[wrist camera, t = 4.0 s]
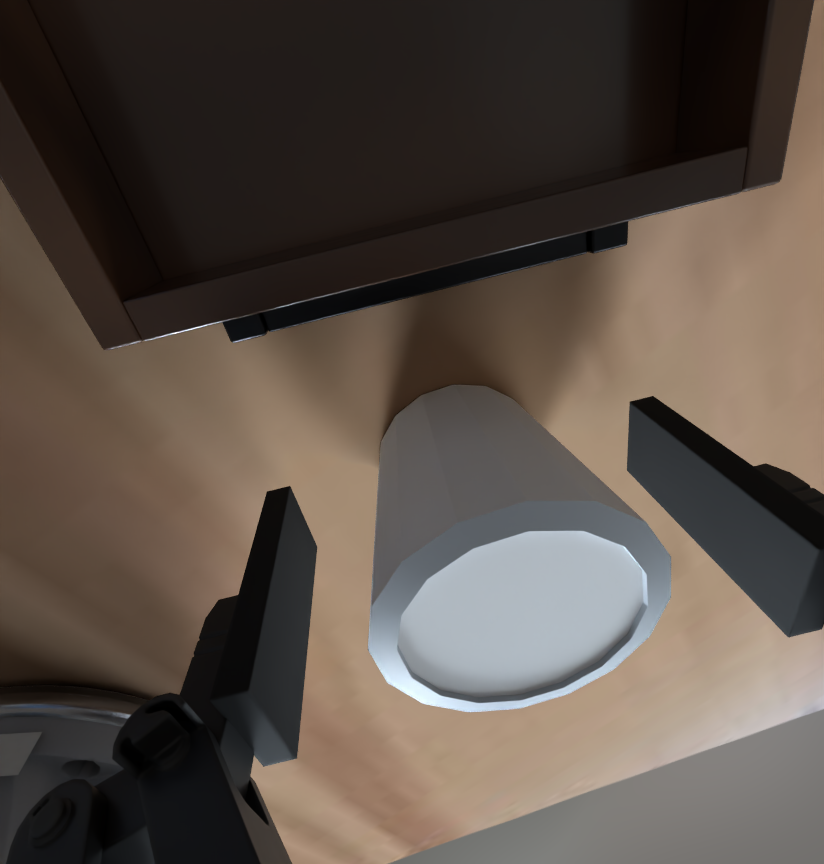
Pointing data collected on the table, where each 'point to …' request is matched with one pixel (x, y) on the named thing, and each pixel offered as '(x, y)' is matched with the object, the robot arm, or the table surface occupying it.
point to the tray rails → (427, 282)
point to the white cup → (501, 559)
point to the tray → (367, 136)
